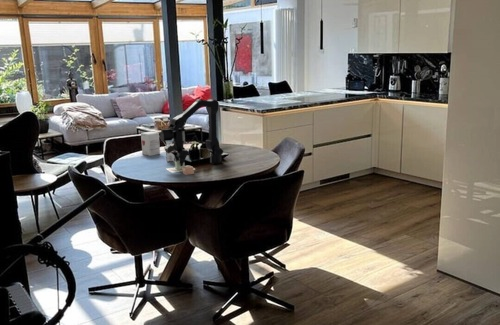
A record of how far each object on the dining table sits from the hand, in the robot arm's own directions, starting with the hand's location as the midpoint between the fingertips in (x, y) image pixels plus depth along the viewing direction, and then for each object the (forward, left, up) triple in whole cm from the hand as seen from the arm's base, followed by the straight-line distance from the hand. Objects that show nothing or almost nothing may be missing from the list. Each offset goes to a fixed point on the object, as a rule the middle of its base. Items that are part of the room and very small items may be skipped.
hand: (179, 164), depth 280 cm
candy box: (-6, -26, -3) cm, 27 cm away
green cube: (0, 0, -2) cm, 2 cm away
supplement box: (+2, -51, -3) cm, 51 cm away
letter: (0, +1, -2) cm, 3 cm away
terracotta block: (0, +13, -3) cm, 13 cm away
